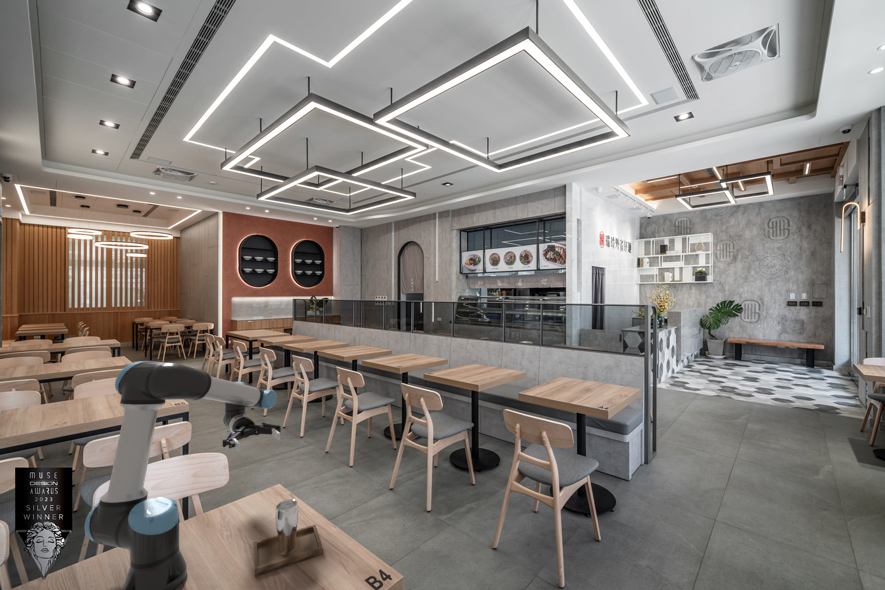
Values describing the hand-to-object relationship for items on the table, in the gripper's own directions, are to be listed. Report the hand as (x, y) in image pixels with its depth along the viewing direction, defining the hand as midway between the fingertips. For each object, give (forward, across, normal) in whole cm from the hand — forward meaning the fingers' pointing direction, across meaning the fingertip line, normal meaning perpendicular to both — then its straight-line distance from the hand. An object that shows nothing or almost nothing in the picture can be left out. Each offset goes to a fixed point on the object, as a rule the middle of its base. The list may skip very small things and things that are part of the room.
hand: (259, 442), depth 137 cm
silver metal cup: (+18, -2, -31) cm, 36 cm away
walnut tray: (+18, -3, -32) cm, 37 cm away
